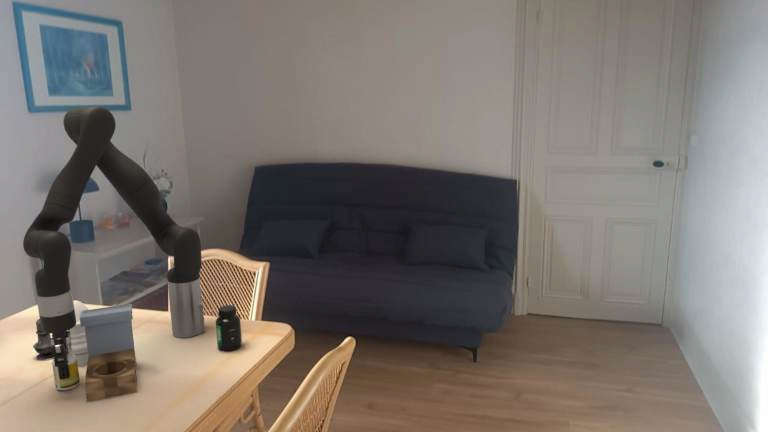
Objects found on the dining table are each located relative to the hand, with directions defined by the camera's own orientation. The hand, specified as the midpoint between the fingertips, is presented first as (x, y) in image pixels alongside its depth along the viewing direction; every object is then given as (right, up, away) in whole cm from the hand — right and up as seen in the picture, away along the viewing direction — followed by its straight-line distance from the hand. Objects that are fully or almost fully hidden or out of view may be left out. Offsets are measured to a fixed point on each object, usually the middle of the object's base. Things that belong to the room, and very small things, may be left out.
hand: (66, 372), depth 141 cm
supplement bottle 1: (0, -4, +1) cm, 4 cm away
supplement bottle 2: (+35, +1, +22) cm, 41 cm away
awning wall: (+8, -2, +9) cm, 12 cm away
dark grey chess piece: (-15, 0, +18) cm, 23 cm away
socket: (+10, -3, +3) cm, 11 cm away
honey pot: (-5, -1, +17) cm, 17 cm away
